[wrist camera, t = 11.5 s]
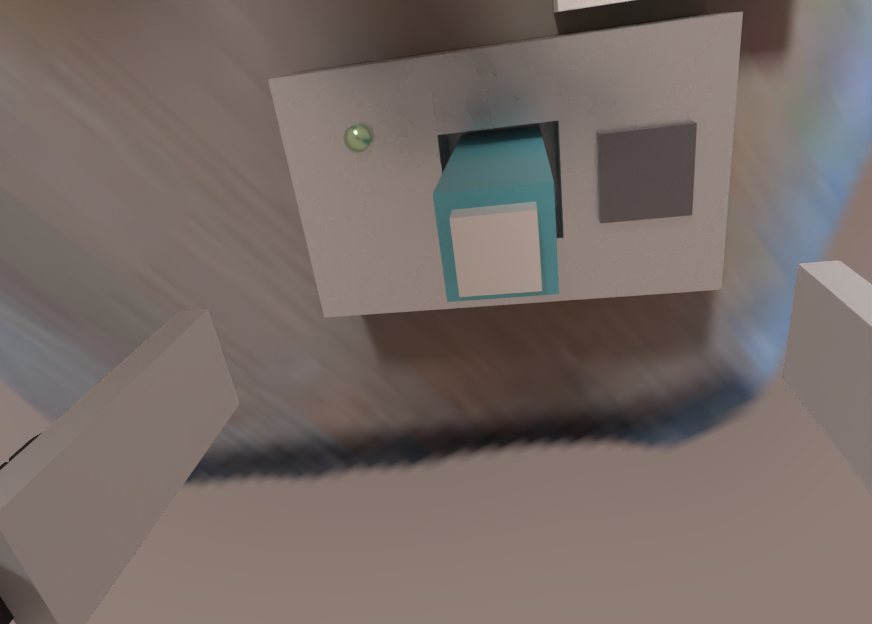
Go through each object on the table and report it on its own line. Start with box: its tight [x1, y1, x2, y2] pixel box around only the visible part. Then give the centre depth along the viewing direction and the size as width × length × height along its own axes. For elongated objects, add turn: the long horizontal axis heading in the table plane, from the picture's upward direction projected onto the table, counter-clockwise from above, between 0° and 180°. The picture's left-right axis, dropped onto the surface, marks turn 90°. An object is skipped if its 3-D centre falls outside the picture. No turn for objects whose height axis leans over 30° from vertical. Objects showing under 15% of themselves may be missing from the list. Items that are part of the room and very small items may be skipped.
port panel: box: [268, 12, 743, 318], centre depth 29 cm, size 20×12×6 cm, turn 98°
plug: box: [433, 126, 559, 302], centre depth 25 cm, size 4×4×13 cm
